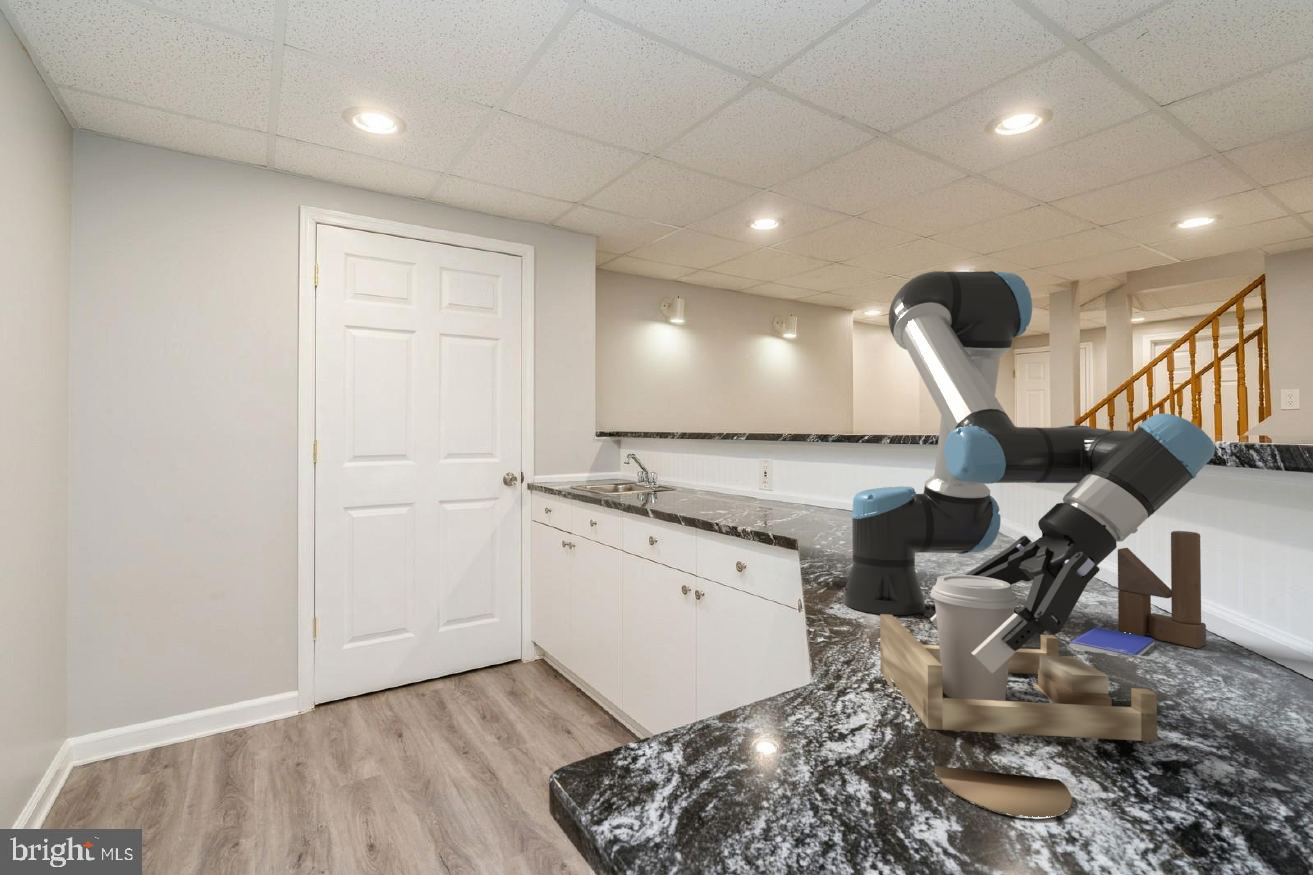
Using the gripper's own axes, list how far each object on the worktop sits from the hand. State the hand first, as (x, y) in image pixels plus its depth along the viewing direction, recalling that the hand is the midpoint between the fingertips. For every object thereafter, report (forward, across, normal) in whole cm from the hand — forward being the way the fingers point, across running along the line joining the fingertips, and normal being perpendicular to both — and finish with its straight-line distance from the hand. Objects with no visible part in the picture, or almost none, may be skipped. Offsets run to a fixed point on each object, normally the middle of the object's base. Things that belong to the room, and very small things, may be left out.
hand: (957, 644), depth 74 cm
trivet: (+7, -18, -3) cm, 19 cm away
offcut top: (-6, 0, -12) cm, 14 cm away
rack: (+2, 0, -9) cm, 9 cm away
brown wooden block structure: (-25, +31, -36) cm, 54 cm away
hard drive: (-18, +27, -29) cm, 43 cm away
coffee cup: (+4, 0, -7) cm, 8 cm away
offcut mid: (-5, 0, -14) cm, 14 cm away
